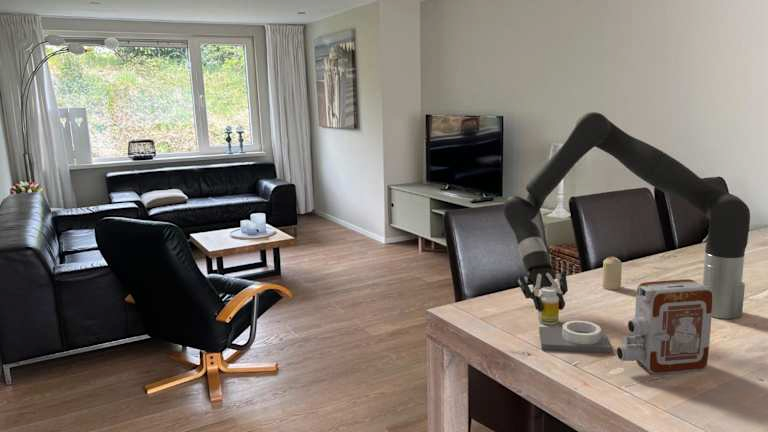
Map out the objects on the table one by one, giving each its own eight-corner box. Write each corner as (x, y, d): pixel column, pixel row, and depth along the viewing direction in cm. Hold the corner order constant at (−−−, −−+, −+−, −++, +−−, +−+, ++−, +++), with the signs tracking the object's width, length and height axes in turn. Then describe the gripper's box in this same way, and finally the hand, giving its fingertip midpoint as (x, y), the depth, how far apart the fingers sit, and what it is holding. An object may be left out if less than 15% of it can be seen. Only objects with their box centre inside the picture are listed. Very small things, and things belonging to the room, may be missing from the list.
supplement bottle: (534, 319, 158) (535, 287, 156) (550, 316, 160) (551, 284, 158) (546, 326, 153) (546, 293, 151) (562, 323, 155) (563, 290, 153)
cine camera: (607, 361, 132) (611, 280, 128) (686, 355, 134) (692, 274, 130) (627, 380, 123) (632, 293, 119) (712, 373, 125) (719, 287, 121)
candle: (622, 290, 178) (623, 260, 176) (604, 290, 180) (605, 259, 178) (618, 284, 184) (620, 255, 182) (601, 284, 185) (602, 255, 183)
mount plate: (602, 334, 147) (603, 320, 146) (610, 353, 136) (610, 337, 135) (539, 331, 150) (539, 317, 149) (541, 349, 139) (542, 334, 139)
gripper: (514, 251, 159) (530, 306, 150) (562, 247, 161) (581, 301, 152) (507, 264, 165) (522, 317, 156) (553, 260, 167) (571, 313, 158)
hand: (551, 309), depth 154 cm, fingers closed on supplement bottle, 5 cm apart
